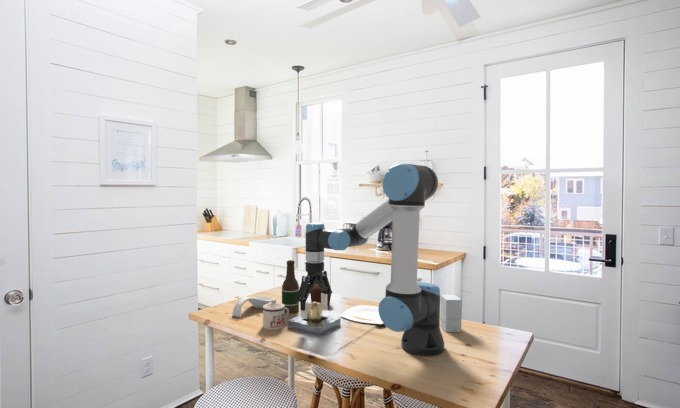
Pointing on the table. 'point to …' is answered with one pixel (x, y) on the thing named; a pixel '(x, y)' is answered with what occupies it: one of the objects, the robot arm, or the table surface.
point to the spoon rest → (255, 301)
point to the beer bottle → (290, 289)
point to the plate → (363, 314)
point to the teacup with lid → (274, 315)
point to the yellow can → (314, 312)
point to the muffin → (318, 294)
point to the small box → (450, 313)
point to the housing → (314, 325)
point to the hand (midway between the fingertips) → (314, 313)
